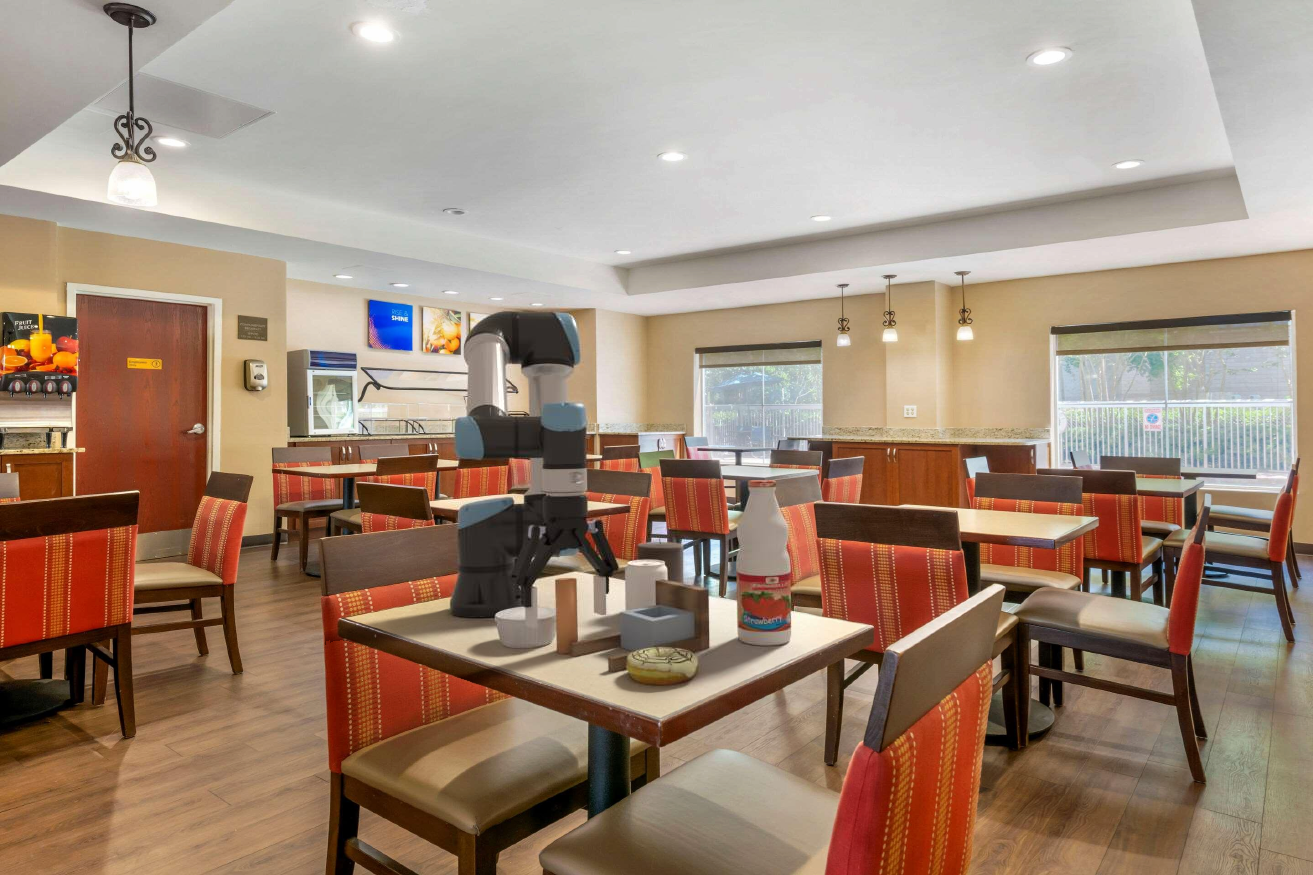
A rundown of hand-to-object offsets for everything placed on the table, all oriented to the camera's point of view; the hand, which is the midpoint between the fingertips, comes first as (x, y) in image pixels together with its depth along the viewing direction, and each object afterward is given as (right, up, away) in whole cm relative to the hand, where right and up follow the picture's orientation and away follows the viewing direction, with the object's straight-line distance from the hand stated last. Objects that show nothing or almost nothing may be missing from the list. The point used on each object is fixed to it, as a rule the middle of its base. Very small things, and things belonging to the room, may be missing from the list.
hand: (566, 620), depth 128 cm
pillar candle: (+16, -5, +30) cm, 34 cm away
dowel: (0, -5, 0) cm, 5 cm away
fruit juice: (+34, -5, +6) cm, 35 cm away
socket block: (+15, -5, +1) cm, 16 cm away
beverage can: (+13, -5, +17) cm, 22 cm away
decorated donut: (+16, -5, -14) cm, 22 cm away
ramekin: (-8, -6, +7) cm, 12 cm away
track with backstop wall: (+12, -5, -1) cm, 13 cm away
